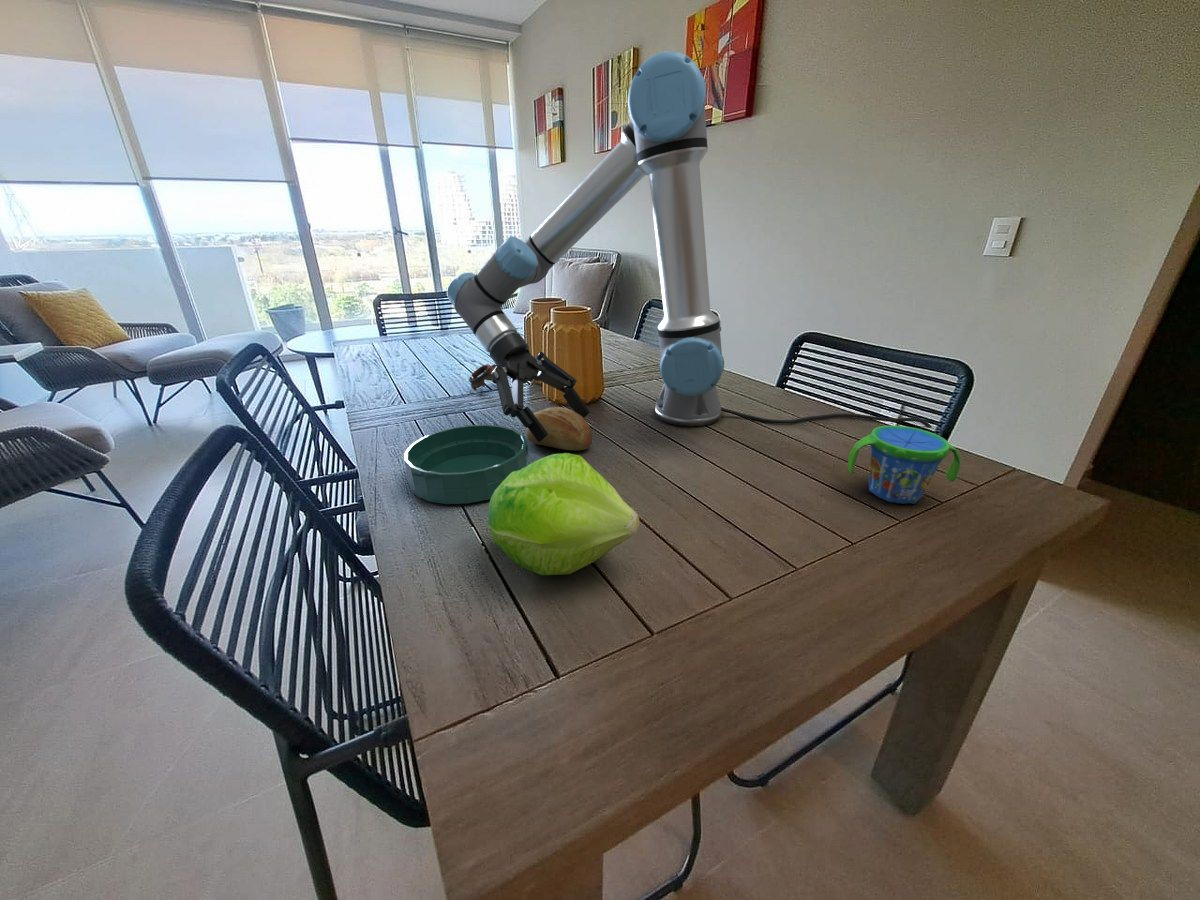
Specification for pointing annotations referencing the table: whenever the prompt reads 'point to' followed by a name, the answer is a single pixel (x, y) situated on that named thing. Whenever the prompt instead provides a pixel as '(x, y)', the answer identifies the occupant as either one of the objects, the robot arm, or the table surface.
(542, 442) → the bread roll
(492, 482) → the bowl
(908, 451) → the snack cup
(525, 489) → the lettuce
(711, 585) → the table surface
